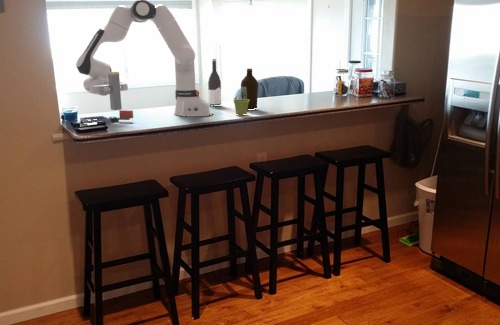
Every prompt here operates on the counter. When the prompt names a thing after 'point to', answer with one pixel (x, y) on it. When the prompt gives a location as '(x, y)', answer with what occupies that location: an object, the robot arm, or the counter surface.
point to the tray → (99, 118)
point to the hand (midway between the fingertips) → (115, 89)
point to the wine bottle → (214, 86)
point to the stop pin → (114, 90)
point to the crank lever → (124, 115)
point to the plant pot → (241, 106)
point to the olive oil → (249, 89)
